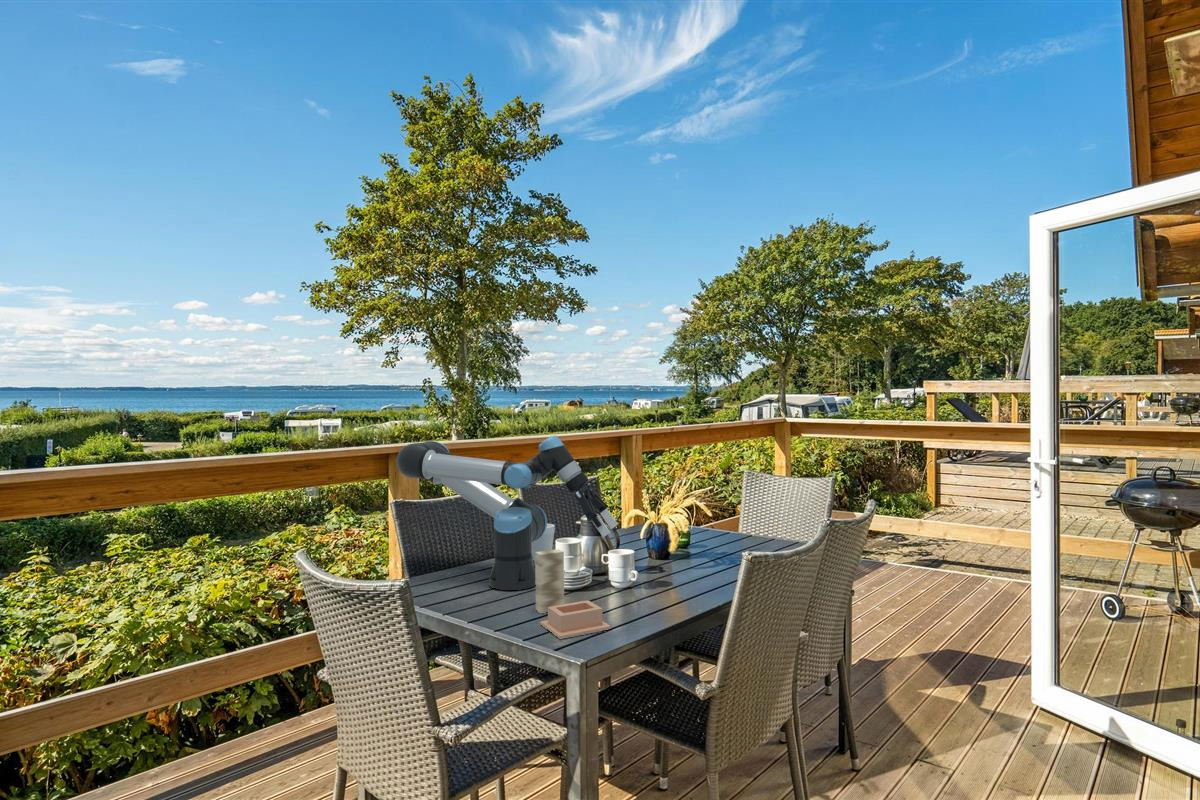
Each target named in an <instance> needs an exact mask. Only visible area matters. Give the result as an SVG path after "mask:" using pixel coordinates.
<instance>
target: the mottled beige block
mask: <svg viewBox="0 0 1200 800" xmlns="http://www.w3.org/2000/svg"><path fill="white" fill-rule="evenodd" d="M564 554H565V553H564V551H563V550H561V549H559V548H556V549H552V550H548V551H540V552H535V563H534V564H535V565H534V568H535V584H536V586H535V611H536V610H537V611H538V612H537V611H536V612H537V613H539V614H540V613H544V614H547V613H546V612H548V607H551V606H557V605H563V604H565V566H564V565H565V558H564V557H565V555H564Z"/></svg>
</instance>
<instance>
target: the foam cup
mask: <svg viewBox="0 0 1200 800" xmlns="http://www.w3.org/2000/svg"><path fill="white" fill-rule="evenodd" d="M555 528H556V527H555V524H552V523H547V527H546V530H545V532H544V533H543V534H542V536H541V537H540V538H539V539H537V540H535V541H533V542H532V561H533V560H535V552H540V551H548V550H553V546H554V538H555V532H556V529H555Z"/></svg>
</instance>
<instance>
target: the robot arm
mask: <svg viewBox="0 0 1200 800" xmlns="http://www.w3.org/2000/svg"><path fill="white" fill-rule="evenodd" d="M538 449H539V452H538V453H537V454H536V455H535V456H533V457H532V458H531V459H530V458H529V460H528V461H524V462H514V461H513V462H512V461H505V460H498V459H497V460H496V459H487V458H479V457H478V458H477V457H470V456H469V457H468V456H461V455H453V454H452V453H450V450H449V448H447V446H446V445H444V444H443V443H441V442H438V441H433V440H428V441H423V442H417V443H415V442H414V443H410V444H407V445H405V446H404V447H402V448H401V450H399V452H398V453H397V455H396V456H397V457H396V466H397V468H398V471H399V472H400V473H401V474H402V475H403V476H404V477H407V478H410V479H425V480H427V481H429V482H431V483H432V484H434V485H440V484H442V486H443V485H444V486H445V487H447V489H450V490H451V491H453V492H454V493H455V494H457V495H459V496H460V497H461V498H462V499H464V500H466V501H467V502H469V503H470V504H472V505H474V507H477V508H478V509H480V510H481V511H483V512H484V513H485V514H487V515H488V516H490V517H492V518H493V519H494V521H493V538H494V540H493V543H494V544H493V545H494V547H493V548H494V562H493V565H492V569H491V571H490V575H489V579H488V586H489V585H490V586H491V587H493V588H496V589H501V590H518V591H522V590H521V589H525V590H528V589H527V588H529V589H531V588H530V587H532V588H534V587H536V586H535V585H536V584H535V565H534V563H533V558H532V542H533V541H535V540H537V539H539V538H540V537H541V536H542V534H543V533H544V532H545V530H546V527H547V524H548V518H547V514H546V513H545V510H544V509H543V508H542V507H540V506H539V505H536V504H529V503H527V502H526V501H524V500H522V499H521V498H519V497H515V498H511V497H510V496H508V495H506V494H505V493H503V492H501V491H500V490H499V489H498V488H495V487H494V486H493V485H494V484H495V485H503V486H508V487H510V488H511V489H516V490H517V489H523V488H524V489H530V488H531V487H533V486H535V485H536V484H537V483H538V482H540V481H541V480H542V479H543V478H545V477H546V476H548V475H549V474H550V473H551V472H553V471H554V472H555V473H556V476H558V478H559V480H560V481H561V483H563V484H564V483H565V484H564V486H565V487H566V489H567V490H568V492H569V493H570V494H573V493H574V497H575V498H576V500H577V501H578V503H579V506H580V508H581V509H582V511H583V513H584V515H585V517H586V519H587V521H588V522H590V521H591V522H592V524H593V525H594V527H595V528H596V530H597V531H598V533H600V535H601V537H602V538H605V537H606V536H607V535H609V534H610V533H611V531H610V529H611V530H612V529H614V528H615V527H617V526H618V525H619V523H618V522H617V521H616V519H615V518H614V516H613V515H612V513H611V512H610V511H609V509H608V508H609V505H608V504H606V502H605V501H603V499H602V498H601V497H600V496H599V494H597V493H596V491H595V490H594V489H593V488H592V487H591V485H589V484H588V485H586V484H587V483H588V482H589V478H588V476H587V475H586V474H585V472H583V471H582V468H581V467H580V466H579V464H580V463H579V462H578V461H576V460H575V458H574V457H573V455H572V454H571V453H570V451H569V450H568V449H567V447H566V446H565V444H564V443H563V442H562V441H561V439H560V438H559V437H558V436H557V435H551V436H549V437H547V438H545V440H543V441H541V443H540V444H538ZM491 484H492V485H491ZM595 509H596V510H597V511H598V512H600V515H601V516H600V515H599V514H598V513H596V510H595ZM597 514H598V515H597ZM601 517H602V518H603V519H601ZM603 520H604V521H605V522H606V524H607V525H608V527H609V528H610V529H609V528H608V527H607V526H606V524H605V523H604V521H603ZM490 586H489V587H490ZM533 586H534V587H533ZM491 587H490V588H491ZM501 590H500V591H501Z"/></svg>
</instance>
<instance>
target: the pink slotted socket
mask: <svg viewBox="0 0 1200 800" xmlns="http://www.w3.org/2000/svg"><path fill="white" fill-rule="evenodd" d="M603 616H604V615H603V608H602V607H601V606H599V605H597V604H595V603H593V602H592V601H590V600H582V601H575V602H571V603H564V604H563V605H557V606H551V607H548V613H547V619H546V620H541V621H540V622H539V623H540V624H541V625H542V626H543V627H545V628H546V629H548V630H549V631H550V632H552V633H553V634H554V635H555V636H557V637H558V638H564V637H569V636H575V635H579V634H584V633H591V632H596V631H602V630H608V629H611V630H612V626H611V625H610V624H608V623H607V622H605V621H604V620H603V618H604V617H603ZM540 624H539V625H540ZM541 625H540V626H541ZM542 626H541V627H542ZM543 627H542V628H543ZM546 629H545V630H546ZM550 632H549V633H550ZM555 636H554V637H555Z"/></svg>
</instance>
